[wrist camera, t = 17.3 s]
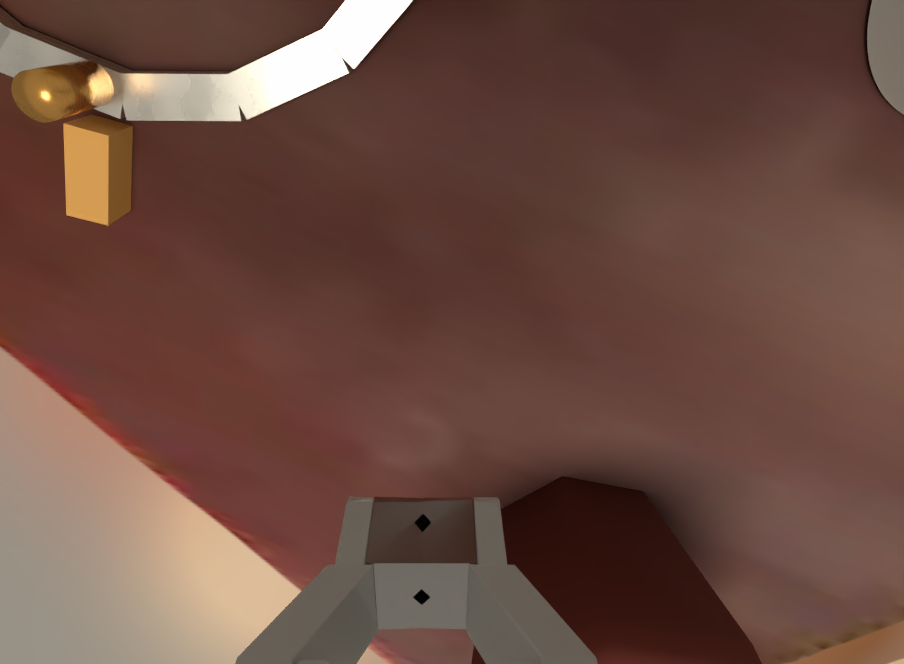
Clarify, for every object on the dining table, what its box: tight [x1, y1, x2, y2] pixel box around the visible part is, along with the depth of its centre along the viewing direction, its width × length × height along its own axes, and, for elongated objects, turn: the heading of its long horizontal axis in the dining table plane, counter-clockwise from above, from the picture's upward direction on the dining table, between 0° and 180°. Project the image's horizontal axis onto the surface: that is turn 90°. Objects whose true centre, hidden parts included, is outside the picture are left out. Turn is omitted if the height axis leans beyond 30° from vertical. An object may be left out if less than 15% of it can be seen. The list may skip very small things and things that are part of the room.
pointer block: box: [64, 114, 133, 225], centre depth 35 cm, size 6×2×3 cm, turn 164°
